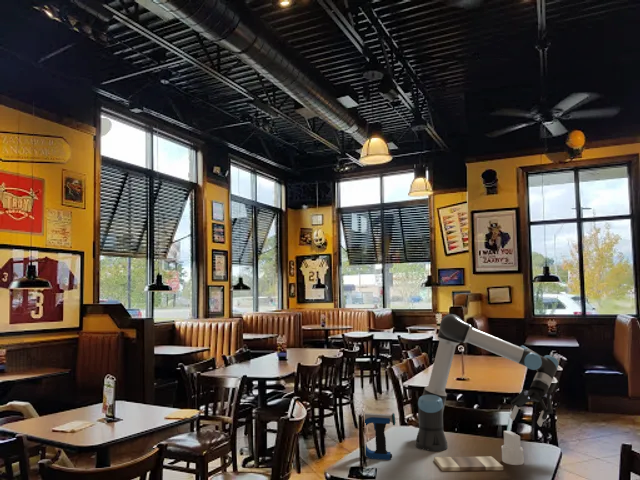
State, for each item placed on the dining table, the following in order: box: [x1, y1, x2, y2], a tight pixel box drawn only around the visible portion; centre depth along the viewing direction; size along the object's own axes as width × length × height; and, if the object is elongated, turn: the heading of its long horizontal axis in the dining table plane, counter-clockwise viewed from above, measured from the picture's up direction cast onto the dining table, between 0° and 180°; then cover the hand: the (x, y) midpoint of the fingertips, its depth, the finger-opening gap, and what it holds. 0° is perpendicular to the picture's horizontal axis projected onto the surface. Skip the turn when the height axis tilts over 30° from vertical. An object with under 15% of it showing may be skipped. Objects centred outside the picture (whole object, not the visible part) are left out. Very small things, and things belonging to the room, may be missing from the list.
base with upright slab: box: [501, 430, 525, 466], centre depth 221 cm, size 9×9×12 cm
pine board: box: [433, 455, 504, 472], centre depth 215 cm, size 26×13×2 cm, turn 92°
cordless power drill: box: [364, 412, 397, 461], centre depth 226 cm, size 5×16×20 cm, turn 78°
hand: (525, 421), depth 228 cm, fingers open, 13 cm apart
